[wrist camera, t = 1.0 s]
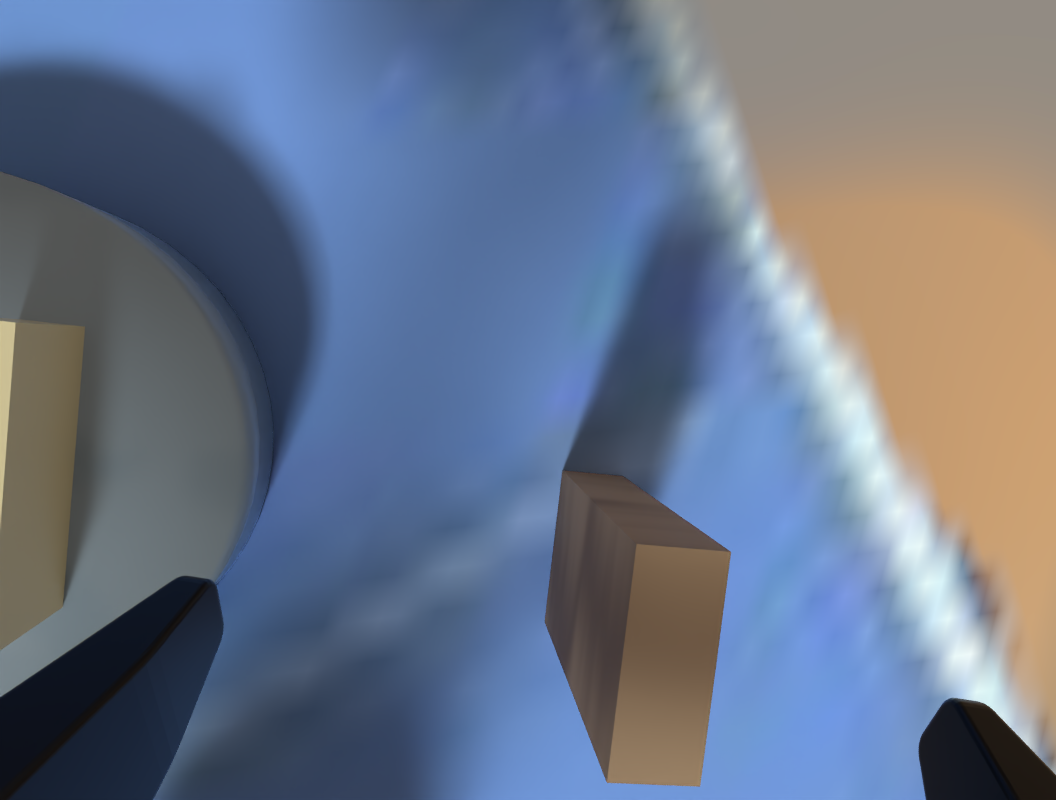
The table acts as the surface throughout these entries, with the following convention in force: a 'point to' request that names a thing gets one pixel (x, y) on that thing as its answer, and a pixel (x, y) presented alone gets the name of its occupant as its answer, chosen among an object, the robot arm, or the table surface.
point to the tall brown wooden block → (636, 626)
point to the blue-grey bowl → (113, 424)
